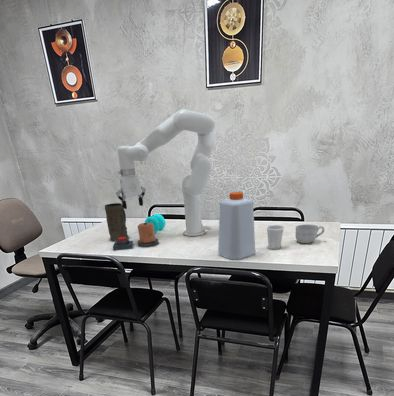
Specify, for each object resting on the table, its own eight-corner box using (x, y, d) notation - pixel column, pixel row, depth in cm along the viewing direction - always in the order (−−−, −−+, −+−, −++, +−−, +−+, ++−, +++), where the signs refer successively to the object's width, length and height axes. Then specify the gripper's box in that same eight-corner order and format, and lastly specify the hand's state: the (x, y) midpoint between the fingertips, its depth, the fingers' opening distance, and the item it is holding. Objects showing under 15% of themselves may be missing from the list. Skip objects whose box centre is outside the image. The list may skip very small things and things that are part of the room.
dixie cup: (282, 244, 174) (284, 224, 169) (282, 250, 167) (284, 229, 162) (266, 244, 176) (266, 225, 171) (265, 250, 169) (266, 229, 164)
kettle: (133, 239, 194) (130, 221, 189) (146, 235, 198) (144, 219, 193) (147, 245, 182) (145, 227, 177) (161, 241, 186) (159, 224, 181)
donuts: (167, 230, 214) (165, 213, 209) (158, 234, 207) (156, 217, 202) (153, 229, 218) (151, 212, 213) (144, 233, 211) (142, 216, 206)
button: (126, 239, 188) (125, 236, 187) (125, 241, 185) (125, 238, 184) (119, 240, 188) (118, 237, 187) (118, 242, 185) (117, 239, 184)
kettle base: (158, 240, 196) (158, 237, 195) (158, 246, 186) (158, 243, 185) (138, 242, 195) (137, 239, 194) (137, 248, 185) (136, 245, 185)
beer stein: (124, 241, 198) (118, 205, 188) (106, 241, 200) (100, 205, 191) (133, 236, 211) (129, 201, 202) (117, 236, 213) (112, 202, 204)
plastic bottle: (214, 254, 168) (212, 193, 154) (238, 247, 175) (238, 188, 161) (234, 261, 158) (234, 197, 143) (258, 254, 165) (260, 191, 150)
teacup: (293, 244, 174) (294, 228, 170) (295, 238, 182) (297, 223, 178) (322, 245, 169) (324, 229, 165) (323, 239, 178) (325, 223, 174)
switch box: (133, 244, 192) (132, 237, 190) (132, 248, 185) (131, 241, 183) (115, 246, 192) (114, 239, 190) (113, 250, 185) (112, 243, 183)
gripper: (115, 175, 172) (121, 210, 181) (146, 171, 180) (150, 205, 189) (109, 174, 177) (115, 208, 186) (139, 170, 185) (144, 203, 194)
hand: (133, 207), depth 187 cm, fingers open, 9 cm apart
